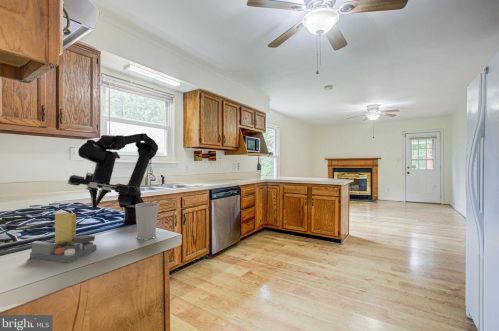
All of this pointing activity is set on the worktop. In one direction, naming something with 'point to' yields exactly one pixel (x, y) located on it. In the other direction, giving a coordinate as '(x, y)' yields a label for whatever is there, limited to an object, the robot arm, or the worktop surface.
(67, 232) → the yellow flat block
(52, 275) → the worktop surface
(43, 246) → the console
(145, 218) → the cup
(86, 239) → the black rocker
